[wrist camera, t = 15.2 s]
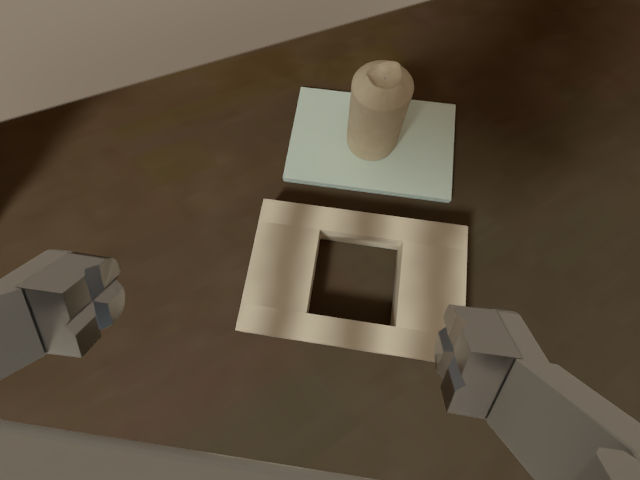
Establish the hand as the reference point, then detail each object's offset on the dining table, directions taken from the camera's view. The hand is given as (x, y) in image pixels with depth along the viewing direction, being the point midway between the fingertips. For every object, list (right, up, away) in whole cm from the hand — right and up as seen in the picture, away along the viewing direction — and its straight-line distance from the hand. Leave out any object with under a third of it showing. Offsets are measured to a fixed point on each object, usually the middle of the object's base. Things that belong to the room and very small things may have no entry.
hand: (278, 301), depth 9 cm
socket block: (+4, -3, +27) cm, 27 cm away
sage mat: (+7, +12, +32) cm, 35 cm away
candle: (+7, +13, +31) cm, 34 cm away
